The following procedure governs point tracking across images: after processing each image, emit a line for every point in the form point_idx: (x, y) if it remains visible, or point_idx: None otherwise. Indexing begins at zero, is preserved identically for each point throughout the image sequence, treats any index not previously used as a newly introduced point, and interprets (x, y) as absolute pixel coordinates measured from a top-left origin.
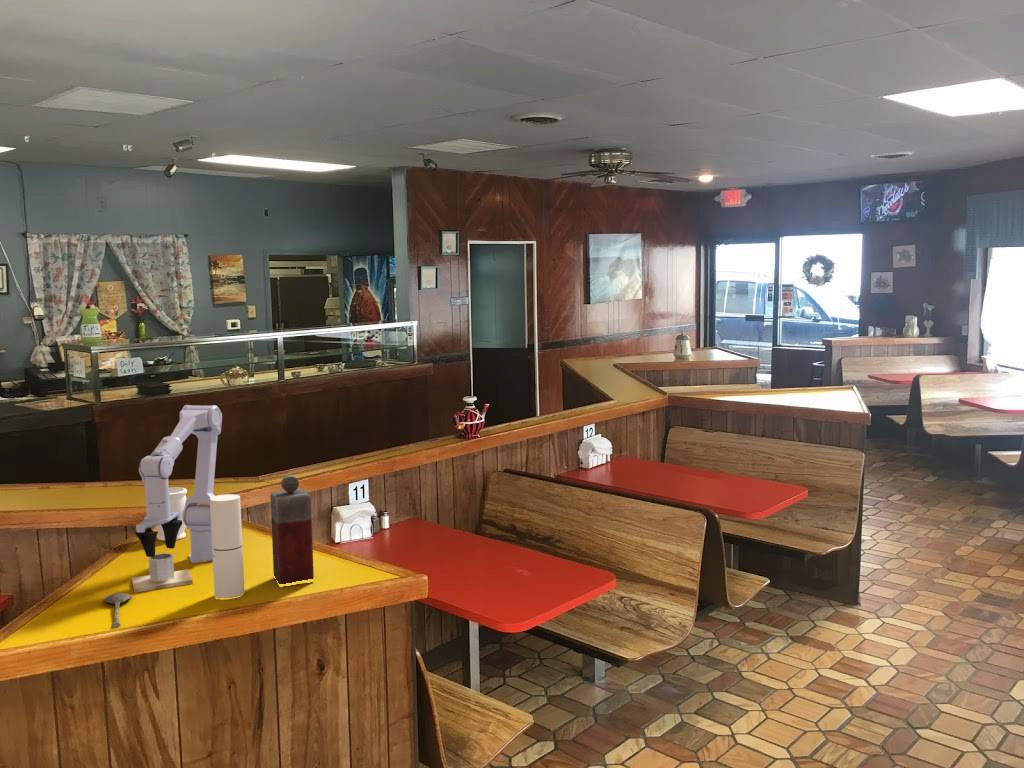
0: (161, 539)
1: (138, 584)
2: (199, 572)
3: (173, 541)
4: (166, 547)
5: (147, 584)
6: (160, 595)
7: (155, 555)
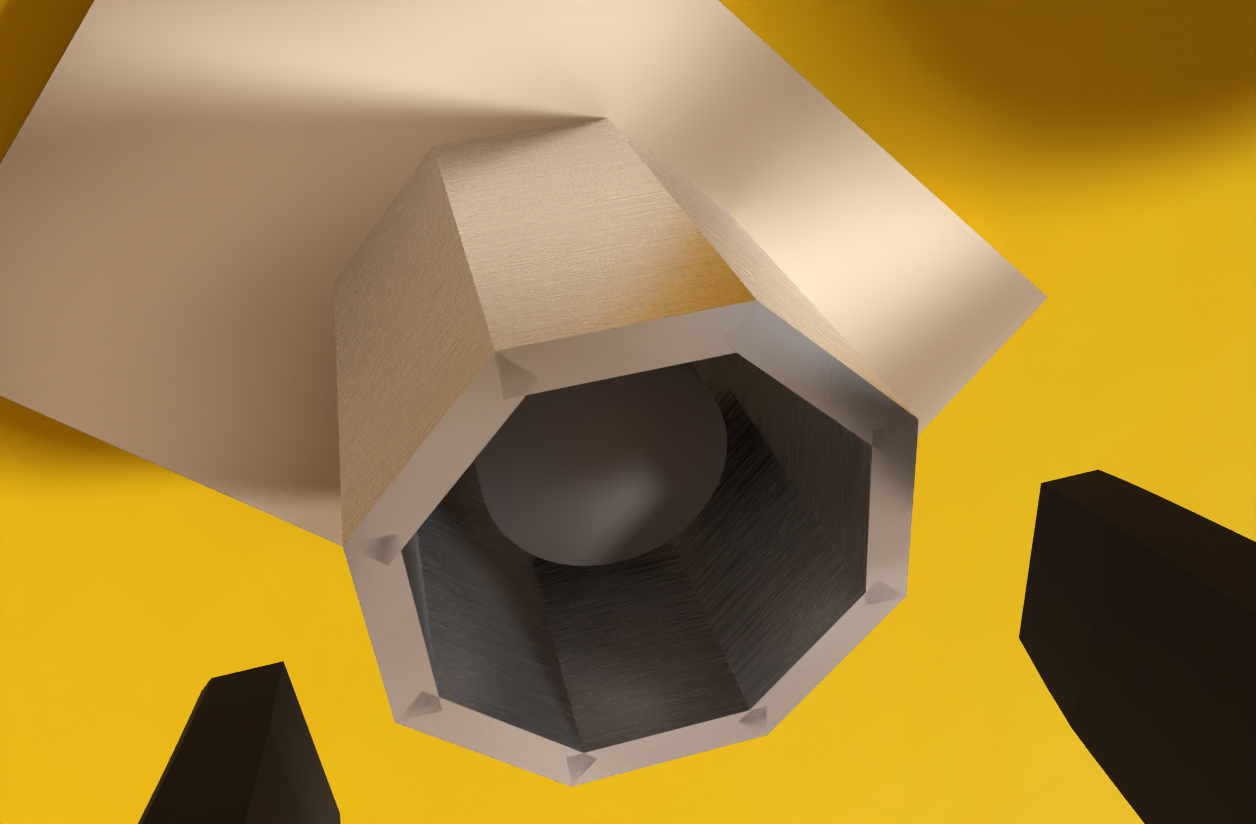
0: None
1: (99, 210)
2: (1067, 383)
3: (1141, 800)
4: (1050, 487)
5: (208, 349)
6: (125, 703)
7: (708, 353)
